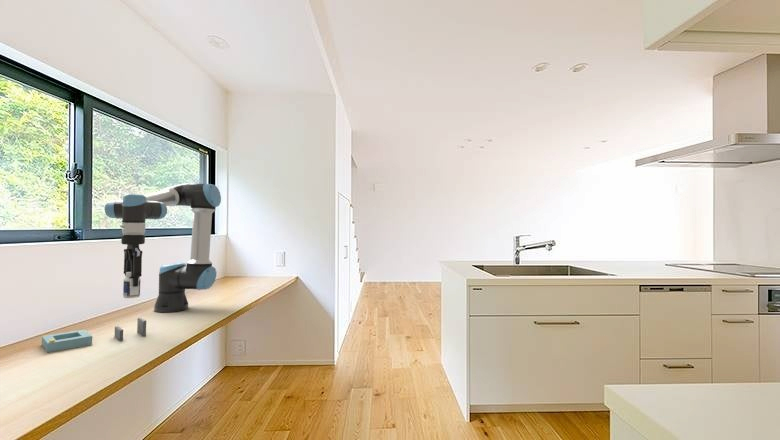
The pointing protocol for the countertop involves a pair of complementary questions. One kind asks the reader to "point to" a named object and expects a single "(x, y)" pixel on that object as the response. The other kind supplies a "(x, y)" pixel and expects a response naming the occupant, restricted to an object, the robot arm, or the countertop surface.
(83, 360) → the countertop surface
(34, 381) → the countertop surface
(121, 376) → the countertop surface
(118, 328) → the gray upright plates
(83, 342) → the frame
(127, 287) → the pill bottle
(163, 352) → the countertop surface
